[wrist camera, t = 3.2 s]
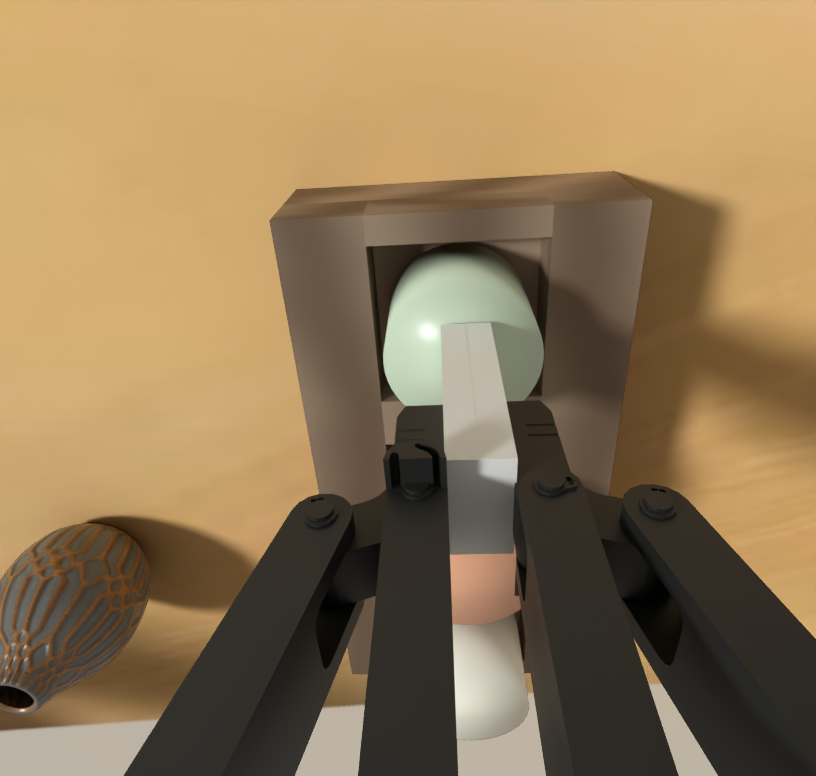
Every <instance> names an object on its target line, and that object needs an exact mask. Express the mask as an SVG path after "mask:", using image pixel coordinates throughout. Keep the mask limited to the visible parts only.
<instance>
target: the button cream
mask: <svg viewBox="0 0 816 776" xmlns="http://www.w3.org/2000/svg"><path fill="white" fill-rule="evenodd" d="M453 651H454V679H455V706H456V734H457V739H458V740H483V739H489V738H493V737H497V736H500V735H503V734H505V733H508V732H510V731H512V730H513V729H515V728H516V727H518V726H519V725H520V724H521V723H522V722H523V721H524V719H525V718H526V716H527V714H528V710H529V702H528V695H527V689H526V682H525V675H524V668H523V661H522V654H521V648H520V641H519V634H518V627H517V621H516V618H515V616H514V614H512V615H510V616H508V617H505V618H503V619H500V620H497V621H494V622H490V623H486V624H478V625H457V624H453Z"/></svg>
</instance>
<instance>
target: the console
mask: <svg viewBox="0 0 816 776" xmlns="http://www.w3.org/2000/svg"><path fill="white" fill-rule="evenodd" d="M652 202H653V200H652V199H651V198H650V197H648V196H647V195H646V194H644V193H643V192H641V191H640V190H639V189H637V188H636V187H635V186H633V185H632V184H631V183H629V182H628V181H627V180H625V179H624V178H623V177H621V176H620V175H619V174H617V173H616V172H615V171H612V172H595V173H577V174H560V175H542V176H525V177H507V178H490V179H472V180H455V181H437V182H420V183H402V184H385V185H367V186H350V187H332V188H315V189H297V190H296V191H295V192H294V193H293V194H292V195H291V196H290V198H289V199H288V200H287V201H286V202H285V203H284V204H283V206H282V207H281V208H280V209H279V210H278V211H277V213H276V214H275V215H274V216H273V217H272V218H271V220H270V226H271V232H272V237H273V243H274V248H275V254H276V259H277V265H278V270H279V275H280V281H281V286H282V292H283V297H284V303H285V308H286V314H287V319H288V325H289V330H290V336H291V341H292V347H293V352H294V358H295V363H296V368H297V374H298V379H299V385H300V390H301V396H302V401H303V407H304V412H305V418H306V423H307V429H308V434H309V440H310V445H311V451H312V456H313V461H314V467H315V472H316V478H317V483H318V489H319V494H335V495H338V496H341V497H343V498H345V499H346V500H347V501H348V502H349V503H350V505H354V504H358V503H362V502H365V501H368V500H371V499H373V498H375V497H377V496H378V495H380V494H381V493H382V492H383V491H384V490H386V483H385V474H384V464H383V458H384V456H385V453H386V452H387V451H388V450H389V449H390V448H391V447H392V446H394V443H395V432H396V421H397V416H398V415H399V414H400V413H401V411H402V410H403V409H404V408H405V405H404V404H403V403H402V402H401V401H400V400H399V399H398V397H397V396H396V395H395V393H394V392H393V390H392V389H391V387H390V385H389V383H388V380H387V377H386V374H385V370H384V364H383V352H384V344H385V337H386V331H387V324H388V317H389V310H390V304H391V297H392V293H393V289H394V286H395V284H396V282H397V279H398V278H399V276H400V274H401V273H402V271H403V270H404V269H405V268H406V267H407V265H408V264H409V263H410V262H412V261H413V260H414V259H415V258H416V257H418V256H419V255H420V254H422V253H424V252H426V251H428V250H429V249H432V248H435V247H437V246H441V245H445V244H451V243H470V244H476V245H479V246H483V247H486V248H488V249H490V250H493V251H494V252H496V253H498V254H499V255H501V256H502V257H503V258H504V259H506V260H507V261H508V262H509V263H510V264H511V265H512V267H513V268H514V269H515V271H516V272H517V274H518V275H519V277H520V279H521V281H522V284H523V287H524V290H525V292H526V295H527V298H528V300H529V303H530V306H531V309H532V311H533V314H534V317H535V319H536V322H537V325H538V328H539V330H540V333H541V336H542V341H543V347H544V359H543V367H542V370H541V373H540V376H539V379H538V381H537V383H536V385H535V386H534V388H533V390H532V391H531V393H530V394H529V395H528V396H527V397H526V399H525V400H524V401H534V400H540V401H541V402H542V403H543V404H544V405H545V406H547V407H548V408H549V409H550V410H551V411H552V415H553V418H554V421H555V426H556V427H557V430H558V435H559V437H560V440H561V443H562V446H563V450H564V453H565V456H566V459H567V462H568V465H569V469H570V472H572V473H573V474H574V475H576V476H577V477H578V478H579V480H580V481H581V483H582V484H583V487H585V488H586V489H588V490H591V491H593V492H595V493H599V494H602V495H606V496H609V489H610V483H611V476H612V469H613V463H614V456H615V449H616V443H617V436H618V429H619V423H620V416H621V409H622V403H623V396H624V389H625V383H626V376H627V369H628V363H629V356H630V349H631V343H632V336H633V329H634V323H635V316H636V309H637V303H638V296H639V289H640V283H641V276H642V269H643V263H644V256H645V249H646V243H647V236H648V229H649V223H650V216H651V209H652ZM375 598H376V596H374V597H371V598H368V599H365V601H364V606H363V609H362V611H361V614H360V616H359V619H358V621H357V624H356V626H355V628H354V631H353V633H352V636H351V638H350V641H349V643H348V646H347V648H348V653H349V658H350V664H351V669H352V674H368V670H369V660H370V649H371V639H372V629H373V619H374V609H375ZM513 614H514V616H515V618H516V621H517V627H518V634H519V641H520V648H521V654H522V661H523V668H524V673H531V672H530V665H529V658H528V652H527V645H526V638H525V632H524V625H523V618H522V612H521V609H520V610H518V611H517V612H515V613H513Z"/></svg>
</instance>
